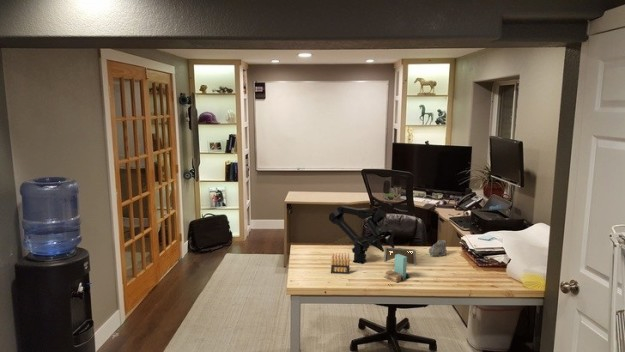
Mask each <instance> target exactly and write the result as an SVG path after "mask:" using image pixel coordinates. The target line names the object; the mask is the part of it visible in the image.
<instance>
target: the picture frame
mask: <svg viewBox="0 0 625 352" xmlns="http://www.w3.org/2000/svg"><path fill="white" fill-rule="evenodd" d="M389 251H393V253H391V255H390V252H389ZM407 251H408V252H409V251H413V253H412V252H411V253H412V254H411V253H410V252H409V253H408V252H407ZM397 254H400V255H403V256H406V257H407V265H414V266H417V263H416V252H415V249H413V248H402V247H395V248H392V247H390V246H389V247H388V246H386V247H384V257H383V263H389V264H395V261H391V260H395V255H397Z"/></svg>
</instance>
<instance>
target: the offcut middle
mask: <svg viewBox="0 0 625 352" xmlns="http://www.w3.org/2000/svg"><path fill="white" fill-rule="evenodd" d="M384 275H385V276H388V277H390V278H393V279H395V280H397V279H400V278H401V277H400V278H395V277H393V276H390V275H388V274H386V272H385V273H384Z"/></svg>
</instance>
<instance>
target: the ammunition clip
mask: <svg viewBox="0 0 625 352" xmlns="http://www.w3.org/2000/svg"><path fill="white" fill-rule="evenodd" d="M330 261H331V262H330V266H331V267H330V274H334V275H335V274H337V275H338V274H339V275H341V274H342V275H350V268H351V267H350V264H351V263H350V254H349V253H347V254H346V253H340V252H338V254H337V253H335V255H334V252H332V254H331V260H330Z"/></svg>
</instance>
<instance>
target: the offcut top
mask: <svg viewBox="0 0 625 352" xmlns="http://www.w3.org/2000/svg"><path fill="white" fill-rule="evenodd" d="M385 273H386V274H388V275H390V276H393V277H395V278H400V277H402V274H400V273H397V272H395V271H394V270H392V269H390V270H387V271H385Z"/></svg>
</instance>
